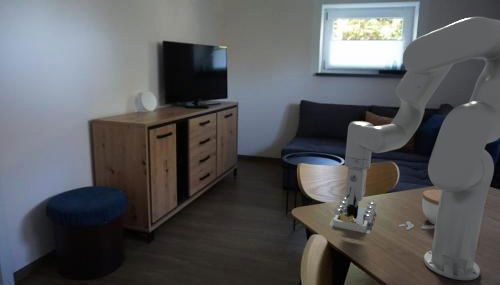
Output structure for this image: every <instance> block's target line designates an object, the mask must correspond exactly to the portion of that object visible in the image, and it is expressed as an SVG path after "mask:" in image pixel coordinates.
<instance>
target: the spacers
mask: <svg viewBox="0 0 500 285" xmlns="http://www.w3.org/2000/svg"><path fill="white" fill-rule="evenodd" d="M367 203H368V204H367V205H366V208H367V209H366V210H365V213H364V215H363V224H364V221H365V219H367V220H368V225H367V226H370V225H371V223H372V221H373V222H374V220H373V217H374V213H375V212H376V213H377V211H376V210H377V202H375V201H370V200H369V201H368V202H367ZM347 205H348V199H346V198H345V196H341V199H340V200H339V202H338V204H336V208H334V214H333V217H334V218H335V216H336V214H339V220H340V217H341V214H342V213H344V212H346V211H347ZM374 218H375V217H374ZM372 224H373V223H372Z"/></svg>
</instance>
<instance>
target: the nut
mask: <svg viewBox="0 0 500 285" xmlns="http://www.w3.org/2000/svg"><path fill="white" fill-rule="evenodd" d="M340 220H342V221H347V222H352V223H353V222H354V215H352V214H350V213H342V214H341V217H340Z"/></svg>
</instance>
